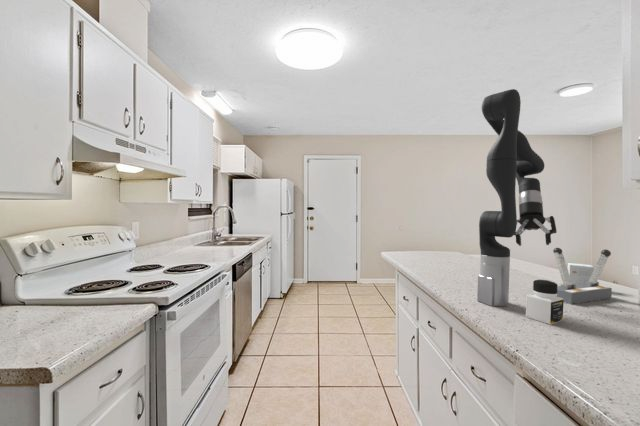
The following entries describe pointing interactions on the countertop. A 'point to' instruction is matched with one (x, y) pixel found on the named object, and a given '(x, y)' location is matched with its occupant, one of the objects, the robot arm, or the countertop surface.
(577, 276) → the small box
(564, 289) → the switch console
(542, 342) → the countertop surface
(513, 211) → the robot arm
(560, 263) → the lever
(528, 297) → the medicine bottle
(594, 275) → the lever
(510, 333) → the countertop surface
